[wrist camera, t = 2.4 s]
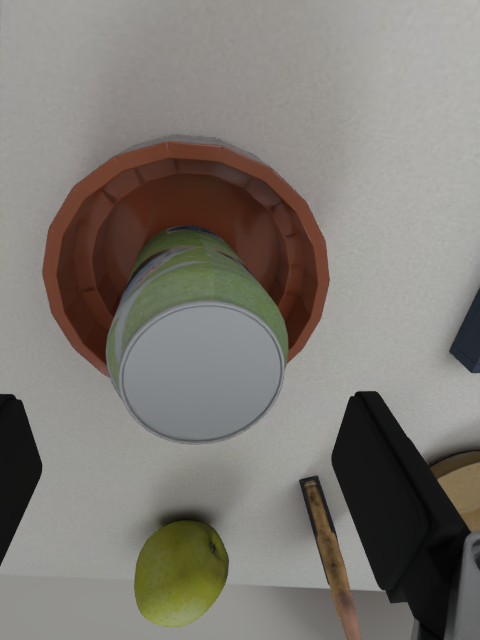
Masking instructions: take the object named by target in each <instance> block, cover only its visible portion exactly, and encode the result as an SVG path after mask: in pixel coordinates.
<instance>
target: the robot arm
mask: <svg viewBox="0 0 480 640" xmlns="http://www.w3.org/2000/svg"><path fill="white" fill-rule="evenodd" d="M331 460H332V466H333V469H334V471H335V474H336V477H337V479H338V482H339V485H340V487H341V490H342V492H343V495H344V498H345V500H346V503H347V506H348V508H349V511H350V513H351V516H352V519H353V521H354V524H355V527H356V529H357V532H358V535H359V537H360V540H361V542H362V545H363V548H364V550H365V553H366V556H367V558H368V561H369V563H370V566H371V569H372V571H373V574H374V577H375V579H376V582H377V584H378V586H379V587H380V588H381V589H382V590H385V591H386V593H387V596H388V598H389V601H390V603H400V602H408V604H409V607H410V609H411V611H412V614H413V616H414V623H413V629H412V634H411V639H410V640H480V531H478V532H471V531H470V529H469V528H468V526H467V525H466V523H465V522H464V520H463V519H462V517H461V516H460V514H459V512H458V511H457V509H456V508H455V506H454V505H453V503H452V502H451V500H450V499H449V497H448V496H447V494H446V493H445V491H444V490H443V488H442V487H441V485H440V484H439V482H438V481H437V479H436V477H435V476H434V474H433V473H432V471H431V470H430V468H429V467H428V465H427V464H426V462H425V461H424V459H423V458H422V456H421V455H420V453H419V452H418V450H417V449H416V447H415V445H414V444H413V442H412V441H411V440H410V439H409V438H408V437H407V436H406V434H405V433H404V431H403V430H402V428H401V427H400V425H399V423H398V422H397V420H396V419H395V417H394V416H393V414H392V413H391V411H390V410H389V408H388V407H387V405H386V404H385V402H384V400H383V399H382V397H381V396H380V394H379V393H378V392H376V391H359V392H356V393H355V395H354V396H351V397H350V399H349V401H348V404H347V408H346V411H345V414H344V417H343V420H342V424H341V427H340V430H339V433H338V436H337V439H336V443H335V446H334V449H333V452H332V457H331ZM41 473H42V462H41V459H40V456H39V453H38V449H37V446H36V443H35V440H34V437H33V434H32V431H31V427H30V424H29V421H28V418H27V415H26V412H25V409H24V405H23V403H22V401H21V400H17V399H16V397H15V396H14V395H13V394H0V566H1V563H2V561H3V559H4V557H5V555H6V552H7V550H8V548H9V546H10V543H11V541H12V539H13V537H14V535H15V532H16V530H17V528H18V526H19V523H20V521H21V519H22V517H23V515H24V512H25V510H26V508H27V506H28V503H29V501H30V499H31V497H32V495H33V492H34V490H35V488H36V486H37V483H38V481H39V479H40V476H41Z"/></svg>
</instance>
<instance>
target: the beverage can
mask: <svg viewBox="0 0 480 640" xmlns="http://www.w3.org/2000/svg"><path fill="white" fill-rule="evenodd" d="M287 357H288V334H287V330H286V326H285V322H284V319H283V317H282V315H281V313H280V311H279V309H278V307H277V305H276V304H275V303H274V301H273V300H272V299H271V297H270V296H269V295H268V293H267V292H266V291H265V290H264V288H263V287H262V286H261V285H260V283H259V282H258V281H257V280H256V278H255V277H254V276H253V275H252V273H251V272H250V271H249V270H248V268H247V267H246V266H245V265H244V263H243V262H242V261H241V259H240V258H239V257H238V256H237V254H236V253H235V252H234V251H233V249H232V248H231V247H230V246H229V244H228V243H227V242H226V241H225V240H224V239H223V238H222V237H220V236H219V235H217V234H216V233H214V232H213V231H211V230H208V229H206V228H203V227H199V226H195V225H180V226H174V227H170V228H167V229H165V230H163V231H161V232H159V233H157V234H156V235H154V236H153V237H152V238H151V239H149V240H148V242H147V243H146V244H145V245H144V246H143V248H142V249H141V251H140V253H139V255H138V257H137V260H136V262H135V265H134V267H133V270H132V272H131V275H130V278H129V280H128V283H127V285H126V288H125V290H124V293H123V296H122V298H121V301H120V303H119V306H118V308H117V311H116V314H115V316H114V319H113V321H112V324H111V327H110V330H109V333H108V337H107V345H106V361H107V369H108V372H109V375H110V379H111V382H112V384H113V386H114V388H115V389H116V391H117V393H118V395H119V397H120V398H121V399H122V400H123V402H124V404H125V406H126V408H127V410H128V411H129V413H130V414H131V415H132V417H133V418H134V419H135V420H136V421H137V422H138V423H139V424H140V425H141V426H142V427H144V428H145V429H146V430H147V431H149V432H151V433H153V434H154V435H156V436H158V437H160V438H163V439H166V440H168V441H172V442H177V443H182V444H194V445H198V444H210V443H215V442H219V441H223V440H226V439H229V438H232V437H235V436H237V435H238V434H240V433H242V432H244V431H246V430H248V429H249V428H250V427H252V426H253V425H255V424H256V423H257V422H258V421H259V420H260V419H262V418H263V417H264V416H265V415H266V414H267V412H268V411H269V410H270V408H271V407H272V406H273V404H274V403H275V401H276V399H277V397H278V395H279V393H280V390H281V387H282V384H283V379H284V372H285V367H286V364H287Z"/></svg>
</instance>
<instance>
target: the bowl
mask: <svg viewBox="0 0 480 640" xmlns="http://www.w3.org/2000/svg"><path fill="white" fill-rule="evenodd" d="M180 225H195V226H199V227H203V228H206V229H208V230H211V231H213V232H214V233H216V234H217V235H219V236H220V237H222V238H223V239H224V240H225V241H226V242H227V243H228V244H229V246H230V247H231V248H232V249H233V251H234V252H235V253H236V254H237V256H238V257H239V258H240V259H241V261H242V262H243V263H244V265H245V266H246V267H247V268H248V270H249V271H250V272H251V273H252V275H253V276H254V277H255V278H256V280H257V281H258V282H259V283H260V285H261V286H262V287H263V288H264V290H265V291H266V292H267V293H268V295H269V296H270V297H271V299H272V300H273V301H274V303H275V304H276V305H277V307H278V309H279V311H280V313H281V315H282V317H283V319H284V322H285V326H286V330H287V334H288V357H287V363H288V362H289V361H290V360H292V359H293V358H294V357H295V356H296V355H297V354H298V353H299V352H300V351H301V350H302V349H303V348H304V346H305V344H306V343H307V341H308V339H309V338H310V336H311V334H312V333H313V331H314V329H315V328H316V326H317V324H318V323H319V321H320V319H321V316H322V312H323V308H324V303H325V299H326V295H327V291H328V286H329V281H330V278H329V269H328V259H327V250H326V242H325V239H324V237H323V235H322V233H321V231H320V229H319V227H318V225H317V223H316V220H315V218H314V216H313V214H312V212H311V210H310V208H309V206H308V204H307V202H306V201H305V200H304V199H303V198H302V197H301V196H300V195H299V194H298V193H297V192H296V191H295V190H294V189H293V188H292V187H291V186H290V185H289V184H288V183H287V182H286V181H285V180H284V179H283V178H282V177H281V176H280V175H278V174H277V173H276V172H275V171H274V170H273V169H272V168H271V167H270V166H268V165H267V164H266V163H264V162H263V161H262V160H261V159H259V158H258V157H257V156H255V155H254V154H251V153H249V152H247V151H245V150H243V149H241V148H238V147H236V146H234V145H232V144H230V143H227V142H225V141H223V140H221V139H217V138H213V137H202V136H190V135H178V134H176V135H170V136H166V137H163V138H159V139H156V140H152V141H148V142H145V143H141V144H138V145H135V146H133V147H131V148H129V149H127V150H125V151H123V152H121V153H119V154H117V155H115V156H113V157H112V158H111V159H109V160H108V161H107V162H105V163H104V164H103V165H101V166H100V167H99V168H97V169H96V170H95V171H93V172H92V173H91V174H89V175H88V176H87V177H85V178H84V179H83V180H81V181H80V182H79V183H77V184H76V185H75V186H74V187H73V188H72V189H71V191H70V193H69V194H68V196H67V198H66V199H65V201H64V203H63V205H62V206H61V208H60V210H59V211H58V213H57V215H56V216H55V218H54V220H53V221H52V223H51V225H50V226H49V229H48V235H47V242H46V249H45V256H44V263H43V270H42V272H43V273H42V274H43V279H44V283H45V287H46V292H47V296H48V300H49V304H50V309H51V313H52V315H53V317H54V318H55V320H56V321H57V323H58V325H59V326H60V328H61V329H62V331H63V333H64V334H65V336H66V337H67V339H68V341H69V342H70V344H71V345H72V347H73V348H74V349H75V350H76V351H77V352H78V353H79V354H81V355H82V356H83V357H84V358H85V359H86V360H87V361H89V362H90V363H91V364H92V365H93V366H94V367H95V368H97V369H98V370H99V371H100V372H101V373H102V374H104V375H106V376H108V377H110V375H109V372H108V369H107V361H106V345H107V337H108V333H109V330H110V327H111V324H112V321H113V319H114V316H115V314H116V311H117V308H118V306H119V303H120V301H121V298H122V296H123V293H124V290H125V288H126V285H127V283H128V280H129V278H130V275H131V272H132V270H133V267H134V265H135V262H136V260H137V257H138V255H139V253H140V251H141V249H142V248H143V246H144V245H145V244H146V243H147V242H148V240H149V239H151V238H152V237H153V236H154V235H156V234H157V233H159V232H161V231H163V230H165V229H167V228H170V227H174V226H180Z"/></svg>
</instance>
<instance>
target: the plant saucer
mask: <svg viewBox="0 0 480 640" xmlns="http://www.w3.org/2000/svg"><path fill="white" fill-rule="evenodd" d="M430 470H431V471H432V473H433V474H434V476H435V477H436V479H437V481H438V482H439V484H440V485H441V487H442V488H443V490H444V491H445V493H446V494H447V496H448V497H449V499H450V500H451V502H452V503H453V505H454V506H455V508H456V509H457V511H458V512H459V514H460V516H461V517H462V519H463V520H464V522H465V523H466V525H467V526H468V528H469V529H470V531H471V532H478V531H480V451H472V452H466V453H462V454H458V455H455V456H452V457H449V458H447V459H444V460H442V461H440V462H438V463H436V464H435V465H433V466H431V467H430Z"/></svg>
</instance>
